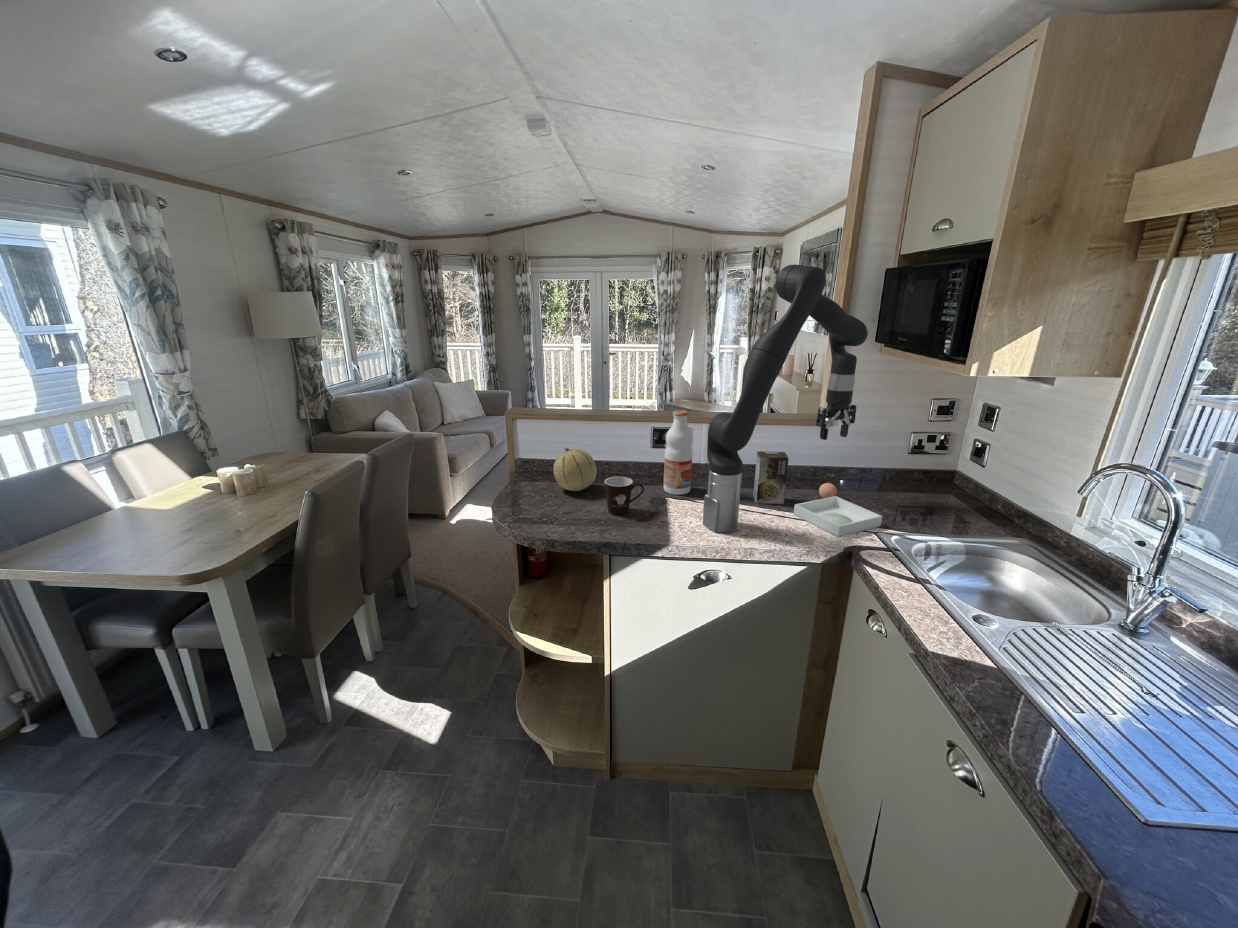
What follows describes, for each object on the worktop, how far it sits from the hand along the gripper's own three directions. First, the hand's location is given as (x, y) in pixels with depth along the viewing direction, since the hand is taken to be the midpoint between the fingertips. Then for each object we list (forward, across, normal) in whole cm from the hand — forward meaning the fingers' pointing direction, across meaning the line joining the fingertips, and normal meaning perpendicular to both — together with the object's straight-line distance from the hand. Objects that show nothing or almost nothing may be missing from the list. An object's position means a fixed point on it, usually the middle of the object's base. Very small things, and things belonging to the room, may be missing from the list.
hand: (833, 437), depth 161 cm
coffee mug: (+20, -67, +16) cm, 72 cm away
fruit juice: (+21, -42, +26) cm, 54 cm away
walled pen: (+21, -11, -15) cm, 28 cm away
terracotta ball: (+18, 0, -1) cm, 18 cm away
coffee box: (+21, -19, +6) cm, 29 cm away
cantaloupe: (+20, -75, +40) cm, 87 cm away
